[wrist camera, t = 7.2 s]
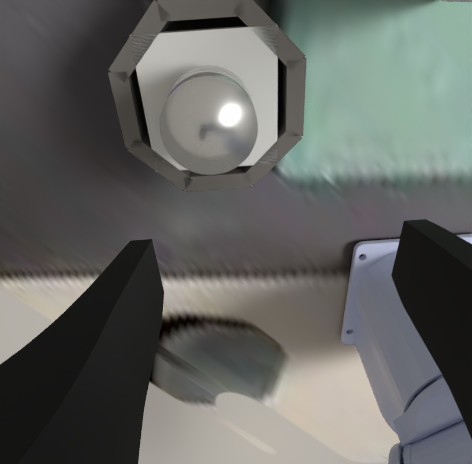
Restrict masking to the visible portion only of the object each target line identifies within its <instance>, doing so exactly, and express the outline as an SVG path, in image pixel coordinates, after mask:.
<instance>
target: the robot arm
mask: <svg viewBox="0 0 472 464" xmlns="http://www.w3.org/2000/svg"><path fill="white" fill-rule="evenodd" d="M361 254H364V255H363V256H361V257H359V256H360V255H361ZM163 299H164V290H163V286H162V281H161V277H160V273H159V268H158V264H157V260H156V255H155V251H154V247H153V242H152V239H148V240H134V241H130V242H129V243H128V244H127V245H126V246H125V247H124V249H123V250H122V251H121V252H120V253H119V254H118V255H117V257H116V258H115V259H114V260H113V261H112V262H111V263H110V265H109V266H108V267H107V268H106V269H105V270H104V271H103V273H102V274H101V275H100V276H99V277H98V278H97V279H96V280H95V281H94V282H93V283H92V285H91V286H90V287H89V288H88V289H87V290H86V291H85V292H84V293H83V294H82V295H81V296H80V297H79V298H78V299H77V300H76V301H75V302H74V303H73V304H72V305H71V306H70V307H69V308H68V309H67V310H66V311H65V312H64V313H63V314H62V315H61V316H60V317H59V318H58V319H56V320H55V321H54V322H53V323H52V324H51V325H50V326H49V327H48V328H46V329H45V330H44V331H43V332H42V333H40V334H39V335H38V336H37V337H36V338H34V339H33V340H32V341H31V342H30V343H28V344H27V345H26V346H25V347H23V348H22V349H21V350H19V351H18V352H17V353H15V354H14V355H13V356H11V357H10V358H9V359H7V360H6V361H5V362H3V363H2V364H0V464H138V459H139V448H140V439H141V430H142V420H143V412H144V406H145V400H146V395H147V390H148V385H149V380H150V376H151V371H152V366H153V362H154V357H155V352H156V348H157V343H158V338H159V333H160V328H161V323H162V312H163ZM341 341H342V343H343V344H345V345H353V344H356V347H357V350H358V353H359V355H360V358H361V361H362V363H363V366H364V369H365V371H366V374H367V377H368V379H369V382H370V385H371V387H372V390H373V393H374V395H375V398H376V401H377V404H378V406H379V409H380V411H381V413H382V415H383V418H384V419H385V421H386V422H387V424H388V425H389V426H390V427H391V429H392V430H393V431H394V432H395V433H396V434H397V435H398V437H399V440H400V443H398V444H396V445H394V446H393V447H392V448H391V450H390V453H389V463H388V464H472V234H463V235H455V234H453V233H451V232H449V231H448V230H446V229H444V228H442V227H440V226H438V225H436V224H434V223H432V222H430V221H428V220H426V219H424V220H410V221H404V223H403V228H402V232H401V236H400V239H389V240H375V241H362V242H359V243H357V244H356V245H355V247H354V251H353V258H352V264H351V271H350V278H349V284H348V291H347V298H346V305H345V311H344V318H343V325H342V332H341Z"/></svg>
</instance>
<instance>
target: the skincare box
mask: <svg viewBox="0 0 472 464" xmlns="http://www.w3.org/2000/svg"><path fill="white" fill-rule="evenodd" d="M442 1H447V2H472V0H442Z"/></svg>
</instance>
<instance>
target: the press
mask: <svg viewBox="0 0 472 464" xmlns="http://www.w3.org/2000/svg"><path fill="white" fill-rule="evenodd" d="M199 66H218V67H222V68H225V69H227V70H229V71H231V72H232V73H234V74H235V75H237V76H238V77H239V78H240V79H241V80H242V81H243V82H244V84H245V85H246V87H247V88H248V90H249V92H250V95H251V98H252V101H253V105H254V109H255V112H256V116H257V122H258V134H257V139H256V142H255V145H254V148H253V150H252V151H251V153H250V155H249V156H248V157H247V158H246V160H245V161H244V162H242V163H241V164H240V165H239V166H237V167H236V168H234V169H232V170H230V171H228V172H225V173H221V174H215V175H205V174H199V173H195V172H192V171H190V170H188V169H186V168H184V167H182V166H181V165H179V164H178V163H177V162H176V161H175V160H174V159H173V158H172V157H171V156H170V155H169V153H168V152H167V150H166V148H165V147H164V145H163V142H162V139H161V135H160V129H159V120H160V114H161V111H162V108H163V106H164V103H165V101H166V99H167V97H168V95H169V93H170V90H171V88H172V86H173V85H174V83H175V82H176V81H177V80H178V78H179V77H180V76H182V75H183V74H184V73H186V72H187V71H189V70H191V69H193V68H196V67H199ZM108 70H110V71H109V72H108V75H109V80H110V84H111V88H112V92H113V97H114V101H115V105H116V109H117V114H118V118H119V122H120V126H121V130H122V135H123V139H124V143H125V147H126V148H128V150H127V151H129V152H130V153H132V154H133V155H134V156H136V157H137V158H139V159H140V160H141V161H143V162H144V163H145V164H147V165H148V166H150V167H151V168H152V169H154V170H155V171H156V172H158V173H159V174H161V175H162V176H163V177H165V178H166V179H168V180H169V181H170V182H172V183H173V184H175V185H176V186H177V187H179V188H180V189H181V190H183V191H184V190H185V189H186V192H191V191H205V190H220V189H234V188H249V187H251V185H253V186H254V185H255V184H256V183H257V182H258V181H259V180H260V179H261V178H262V177H263V176H264V175H265V174H266V173H267V172H268V171H269V170H270V169H271V168H272V167H274V166H275V165H276V164H277V163H278V162H279V161H280V160H281V159H282V158H283V157H284V156H285V155H286V154H287V153H288V152H289V151H290V150H291V149H292V148H293V147H294V146H295V145H296V144H297V143H298V142H299V141H300V140H301V139H302V138H301V136H303V123H304V100H305V77H306V58H305V55H304V54H303V53H302V52H301V51H300V50H299V49H298V47H297V46H296V45H295V44H294V43H293V42H292V41H291V40H290V39H289V38H288V37H287V36H286V35H285V34H284V32H283V31H282V30H281V29H280V28H279V27H278V25H277V24H275V23H274V22H273V21H272V20H271V18H270V17H269V16H268V15H267V14H266V13H265V12H264V11H263V10H262V9H261V8H260V7H259V6H258V5H257V3H256V2H255V1H254V0H153V2H152V3H151V5H150V7H149V8H148V10H147V11H146V13H145V14H144V16H143V17H142V19H141V20H140V22H139V23H138V25H137V26H136V28H135V29H134V31H133V33H132V34H131V35H130V37H129V39H128V40H127V42H126V43H125V45H124V46H123V48H122V49H121V51H120V52H119V54H118V56H117V57H116V59H115V60H114V62H113V63H112V65H111V66H110V68H109V69H108Z"/></svg>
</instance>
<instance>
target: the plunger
mask: <svg viewBox="0 0 472 464" xmlns="http://www.w3.org/2000/svg"><path fill="white" fill-rule="evenodd" d="M159 129H160V135H161V139H162V142H163V145H164V147H165V148H166V150H167V152H168V153H169V155H170V156H171V157H172V158H173V159H174V160H175V161H176V162H177V163H178V164H179V165H181V166H182V167H184V168H186V169H188V170H190V171H192V172H195V173H199V174H205V175H215V174H221V173H225V172H228V171H230V170H232V169H234V168H236V167H237V166H239V165H240V164H241V163H242V162H244V161H245V160H246V158H247V157H248V156H249V155H250V153H251V151H252V150H253V148H254V145H255V142H256V139H257V134H258V122H257V116H256V112H255V109H254V105H253V101H252V98H251V95H250V92H249V90H248V88H247V87H246V85H245V84H244V82H243V81H242V80H241V79H240V78H239V77H238V76H237V75H235V74H234V73H232V72H231V71H229V70H227V69H225V68H222V67H218V66H199V67H196V68H193V69H191V70H189V71H187V72H186V73H184V74H183V75H182V76H180V77H179V78H178V80H177V81H176V82H175V83H174V85H173V86H172V88H171V90H170V93H169V95H168V97H167V99H166V101H165V103H164V106H163V108H162V111H161V114H160V120H159Z"/></svg>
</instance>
